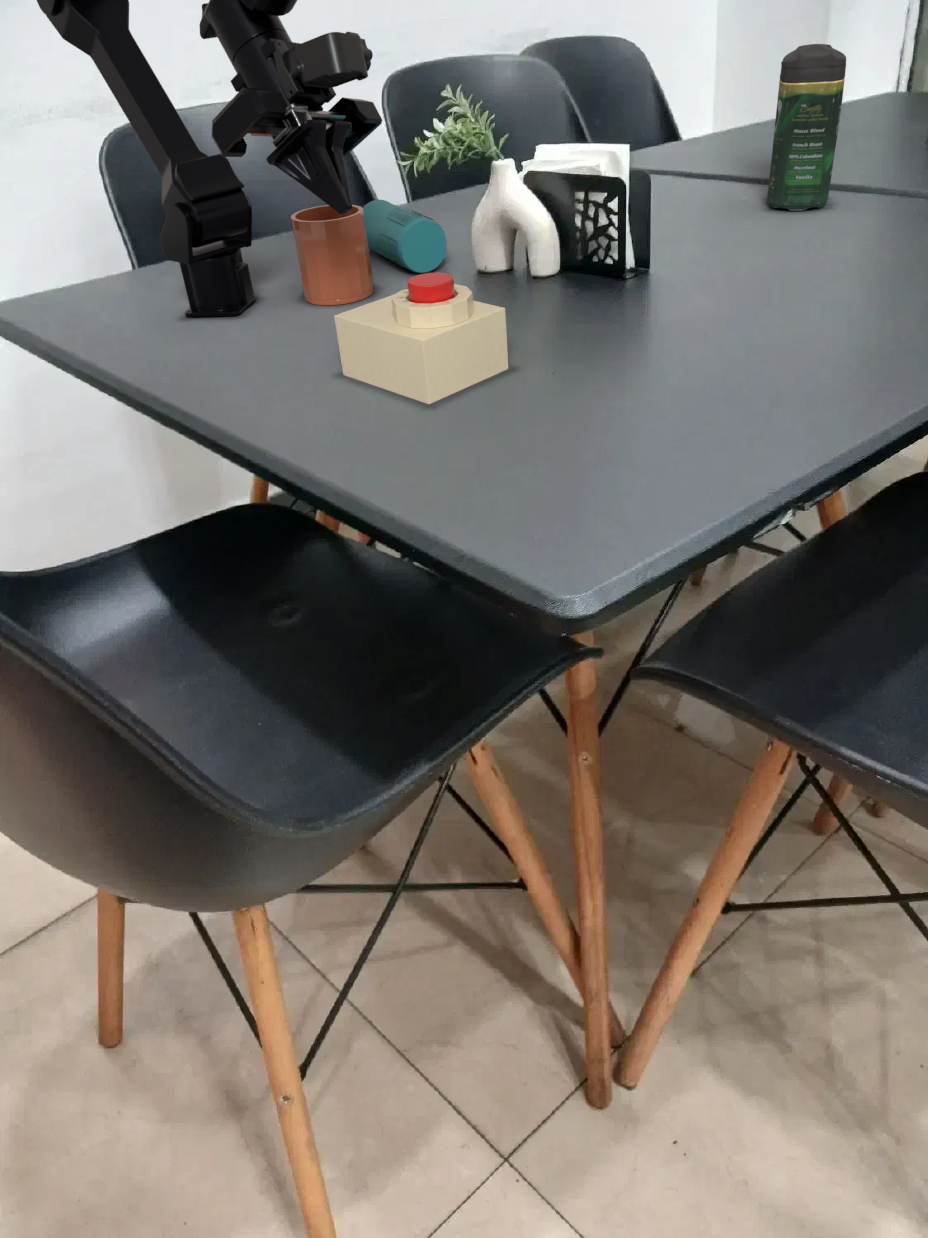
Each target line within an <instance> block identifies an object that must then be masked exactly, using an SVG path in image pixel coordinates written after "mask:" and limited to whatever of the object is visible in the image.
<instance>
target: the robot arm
mask: <svg viewBox="0 0 928 1238" xmlns="http://www.w3.org/2000/svg"><path fill="white" fill-rule="evenodd" d="M36 2H37V4H38V7H39V9H40V10H41V12H42V13H43V14H44V15H45V16H46V18H47V19H48V21H49V22H50V23H51V24H52V26H53V28H54V29H55V30H56V32H57V33H58V34H59V36H60V37H61V38H62V39H63V40H65V42H67V43H68V44H70V45H72V46H73V47H75V48H77V49H78V50H80V51H81V52H82V53H84V54H86V55H87V56H89V57H90V58H91V60H92V61H93V63H94V65H95V66H96V69H98V71H99V73H100V75H101V77H102V78H103V80H104V81H105V83H106V85H107V86H108V88H109V90H110V91H111V93H112V95H113V97H114V98H115V100H116V102H117V104H118V105H119V106H120V108H121V111H122V112H123V114H124V115H125V117H126V119H127V120H128V122H129V124H130V125H131V127H132V129H133V130H134V132H135V134H136V136H137V137H138V139H139V140H140V142H141V144H142V146H143V147H144V149H145V151H146V152H147V154H148V155H149V157H150V159H151V161H152V162H153V164H154V166H155V167H156V170H158V172H159V174H160V177H161V179H162V180H161V206H162V208H163V211H164V213H165V219H164V220H165V221H164V223H163V226H162V230H161V233H160V235H159V239H158V241H159V245H160V247H161V249H162V251H163V254H164V256H165V258H166V260H167V261H171V262H175V263H178V264H179V267H180V271H181V275H182V279H183V282H184V283H183V284H184V288H185V292H186V296H187V301H188V305H189V308H188V309H186V310H185V311H184V316H185V317H187V318H191V317H193V318H194V317H195V318H196V317H224V316H225V317H227V316H238V315H240V314H241V313H242V312H244V311H245V310H246V309H247V308H248V307H249V306H250V305H251V304H252V303H253V302H254V301H255V300H256V299H257V295H256V294H255V293H254V289H253V284H252V279H251V274H250V268H249V264H248V263H247V262H246V261H244V260H243V255H242V249H243V248H250V247H252V245H253V244H252V243H253V242H252V241H253V240H252V238H253V235H252V234H253V233H252V232H253V231H252V230H253V210H252V209H253V208H252V207H253V206H252V204H251V200H250V199H249V197H248V195H247V193H246V192H245V191H244V188H245V184H244V183H243V182H242V181H241V180H240V179H239V178H238V176H237V175H236V173H235V171H234V169H233V167H232V165H231V162H230V161H229V159H228V158H242V157H243V156H245V155H246V153H247V148H248V144H247V142H246V141H245V139H244V138H245V137H246V135H248V134H250V135H251V137H269V138H270V137H271V138H272V142H271V145H272V146H273V149H274V150H273V151H272V152H271V153H270V154H269V155H268V156H267V157H266V158H265V160H266V162H267V164H269V165H270V166H274V167H276V168H277V169H279V170H280V171H282V172H283V173H284V174H285V175H288V177H290V178H292V179H293V180H294V181H295V182H297V183H299V184H300V185H302V187H304V188H305V189H306V190H308V191H309V192H311V193H312V194H313V195H315V196H316V197H317V198H319V199H320V200H321V201H322V202H324V203H325V204H326V205H329V206H330V207H332V208H333V209H334V210H335V211H337V212H338V213H339V214H346V213H348V212H349V211H350V210H351V209H352V205H353V202H352V197H351V192H350V188H349V182H348V177H347V171H346V166H345V160H344V157H346V156H348V155H349V154H350V153H351V152H352V151H353V150H354V149H355V148H356V147H358V146H359V145H360V144H361V143H362V142H363V141H364V140H365V139H367V138H368V137H369V136H370V135H371V134H372V133H373V132H374V131H375V130H376V129H378V127H380V126H381V125H382V123H383V118H382V116H381V114H380V113H379V110H378V109H377V107H376V104H375V103H374V102H373V101H370V100H367V99H366V100H365V99H361V98H352V97H343V96H342V97H341V98H340V99H339V100H338V101H337V102H336V103H335V104H334V105H333V106H332V107H330V109H328V110H325V111H324V107H323V106H324V104H329V103H330V102H331V101H332V100H333V99H334V98H335V97H336V96H337V93H336V91H335V89H334V88H336V87H339V86H342V85H344V84H348V83H350V82H353V81H355V80H357V81H363V80H365V79H368V77H369V73H368V71H370V69H371V66H372V60H373V56H374V53H373V51H372V49H370V48H368V46H367V43H366V42H367V41H366V39H365V38H362V37H361V36H360V34H359V33H357V32H352V31H346V32H345V33H344V32H340V31H332V32H328V33H323V34H321V35H319V36H317V37H314V38H312V39H309V40H307V41H304V42H301V43H300V42H295V41H292V39H291V37H290V35H289V34H288V32H287V30H286V28H285V26H284V24H283V22H282V21H281V18H280V17H281V16H285V15H287V14H289V13H290V12H291V11H292V10H293V9H294V8H295V5H297V4H296V3H298V0H208V2H205V3H202V4H201V19H200V22H199V36H200V38H201V39H203V40H207V39H208V40H209V39H215V38H217V39H218V41H219V44H220V45H221V46H222V47H221V48H223V50H224V53H225V54H226V56H227V58H228V60H229V62H230V64H231V66H232V67H233V69H234V71H235V73H236V74H235V75H234V76H233V77H232V79H231V80H230V83H231V85H232V87H233V90H235V92H236V94H235V95H234V96H233V98H232V99H231V100H229V102H228V103H227V104H226V105H225V106H224V107H223V108H222V109H221V111H219V112H218V113H217V115H216V116H215V117H213V119H212V121H211V136H210V137H211V139H212V141H213V143H214V144H215V146H216V148H217V150H218V152H219V153H217V154H213V155H207V154H206V153H204V152H203V151H201V150H200V148H199V146H198V145H197V143H196V141H195V139H194V138H193V136H192V134H191V133H190V131H189V129H188V128H187V126H186V124H185V122H184V121H183V119H182V117H181V116H180V114H179V112H178V111H177V109H176V107H175V106H174V103H173V102H172V101H171V99H170V97H169V96H168V93H167V92H166V90H165V89H164V87H163V86H162V84H161V82H160V79H159V78H158V77H157V75H156V73H155V72H154V70H153V69H152V67H151V64H150V63H149V62H148V60H147V58H146V56H145V55H144V53H143V51H142V50H141V48H140V46H139V44H138V43H137V41H136V39H135V38H134V36H133V35H132V33H131V30H130V0H36ZM227 157H228V158H227Z"/></svg>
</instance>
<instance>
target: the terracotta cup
mask: <svg viewBox="0 0 928 1238" xmlns="http://www.w3.org/2000/svg"><path fill="white" fill-rule="evenodd" d="M360 206H361V205H356V204H352V209H351V210H350V211H349V212H348V213H346V214H339V213H338V212H337V211H335V210H334V209H333V208H332V207H330V206H329V205H328V204H326V205H316V206H313V207H308V208H303V209H300V210H299V211H296V212H294V213H292V214H291V216H290V222H291V228H292V233H293V239H294V245H295V250H296V256H297V257H296V258H297V262H298V269H299V274H300V282H301V287H302V292H303V297H304V300H305V301H306V303H309V304H312V305H316V306H339V305H347V304H351V303H352V304H353V303H357V302H359V301H362V300H364V299H366V298H369V297H370V296H371V295H372V294H373V293H374V281H373V272H372V265H371V264H372V263H371V258H370V257H371V256H370V249H368V241H367V233H366V225H365V218H364V210H363V208H362V207H360Z"/></svg>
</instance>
